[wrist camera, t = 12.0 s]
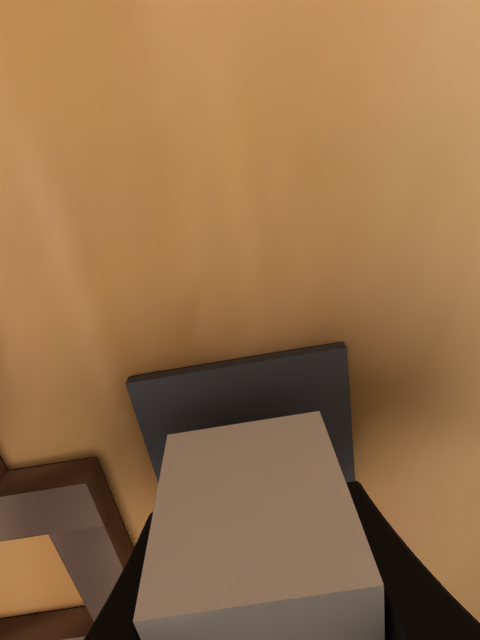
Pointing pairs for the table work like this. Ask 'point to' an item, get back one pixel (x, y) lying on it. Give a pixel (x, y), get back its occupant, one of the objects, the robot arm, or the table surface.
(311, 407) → the mat
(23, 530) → the puzzle board
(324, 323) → the table surface
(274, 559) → the block
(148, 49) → the table surface
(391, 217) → the table surface
